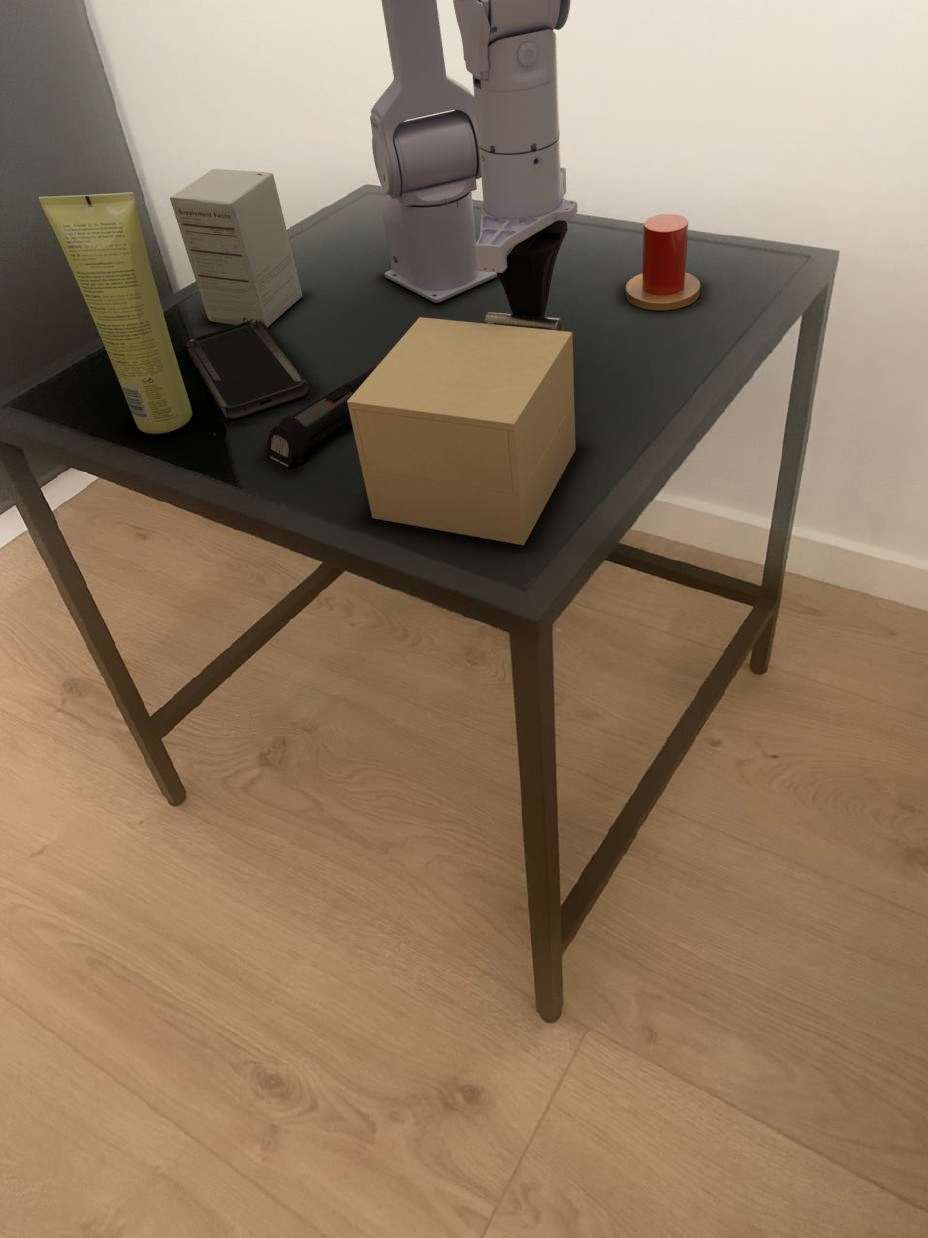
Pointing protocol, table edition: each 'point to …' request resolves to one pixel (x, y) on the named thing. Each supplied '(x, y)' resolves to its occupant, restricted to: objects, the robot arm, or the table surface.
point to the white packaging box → (238, 246)
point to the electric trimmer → (312, 423)
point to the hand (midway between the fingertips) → (529, 319)
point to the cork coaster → (662, 302)
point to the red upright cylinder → (664, 254)
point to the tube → (123, 302)
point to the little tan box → (467, 427)
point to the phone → (246, 369)
